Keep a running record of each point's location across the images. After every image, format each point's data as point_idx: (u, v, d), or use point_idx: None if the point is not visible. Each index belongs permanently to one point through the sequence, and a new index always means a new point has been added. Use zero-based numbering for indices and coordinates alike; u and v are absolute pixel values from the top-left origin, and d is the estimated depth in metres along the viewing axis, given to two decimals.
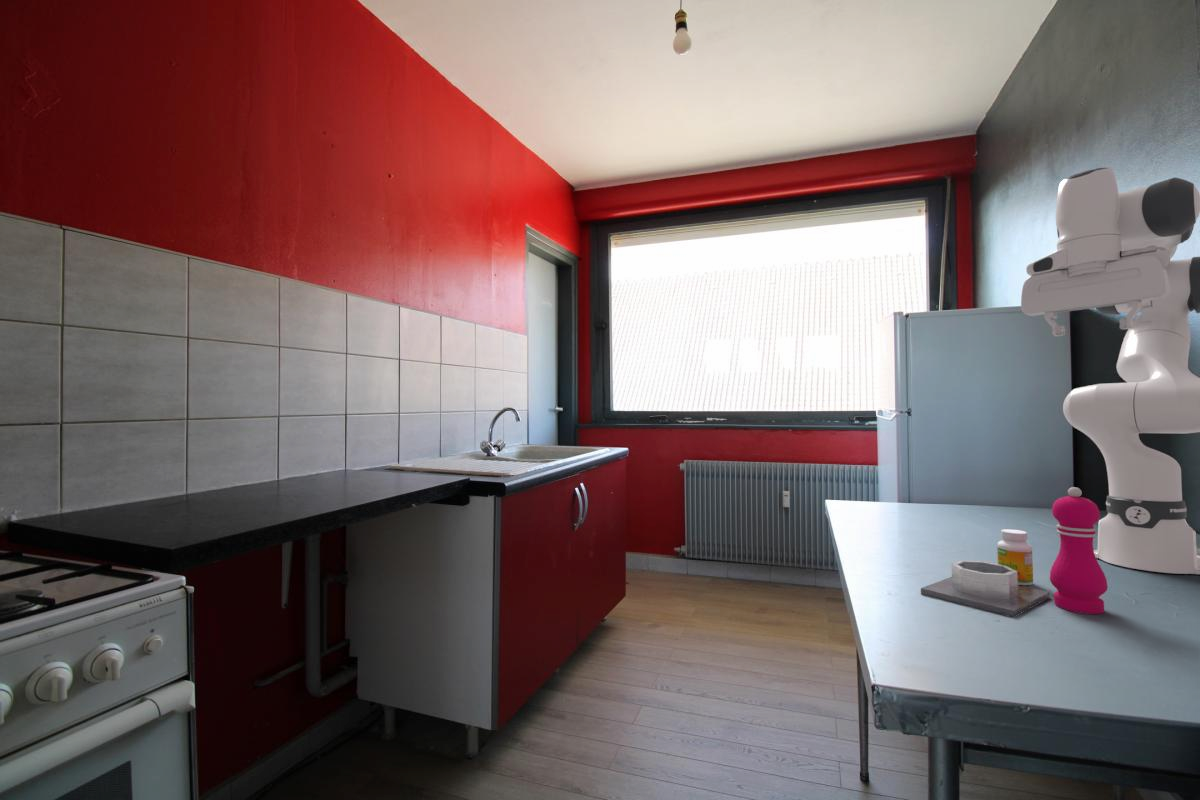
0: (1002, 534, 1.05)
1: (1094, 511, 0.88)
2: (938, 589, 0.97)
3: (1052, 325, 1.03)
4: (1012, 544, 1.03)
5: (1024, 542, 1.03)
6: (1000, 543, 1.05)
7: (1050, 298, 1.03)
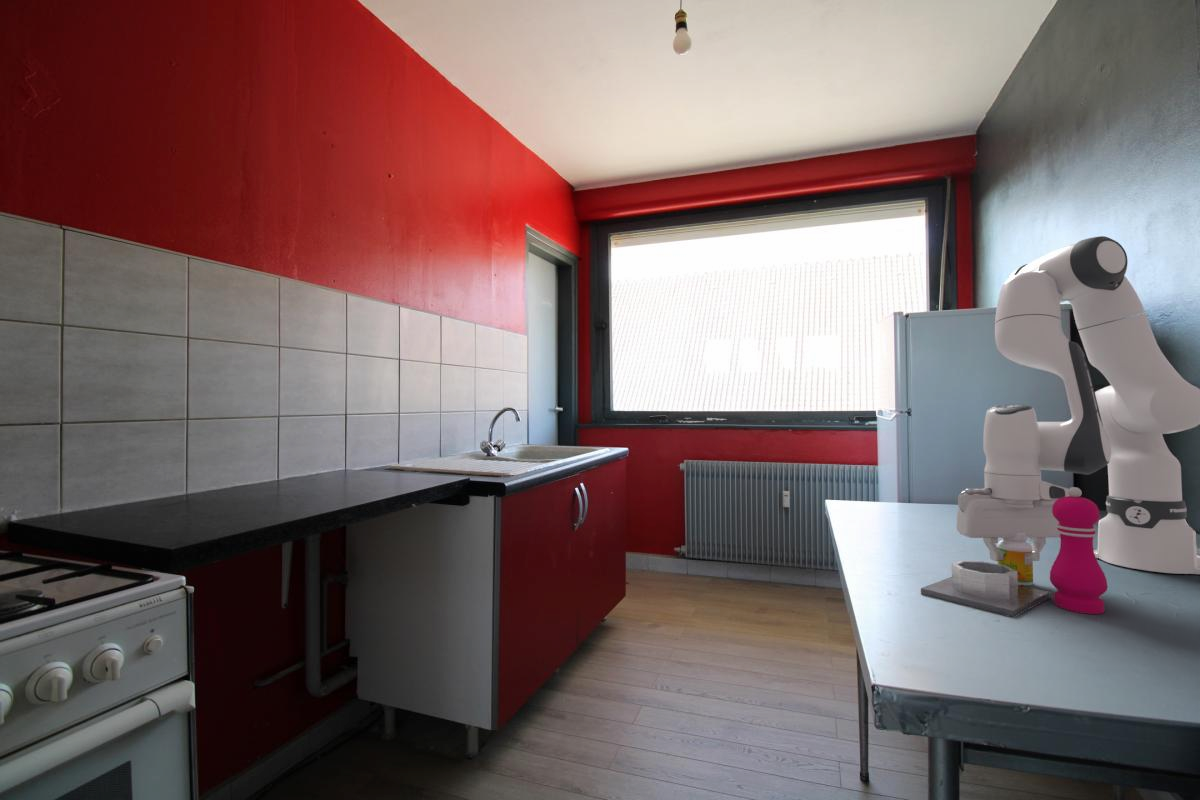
0: None
1: (1094, 511, 0.88)
2: (938, 589, 0.97)
3: None
4: (1012, 544, 1.03)
5: (1024, 542, 1.03)
6: (1000, 543, 1.05)
7: None
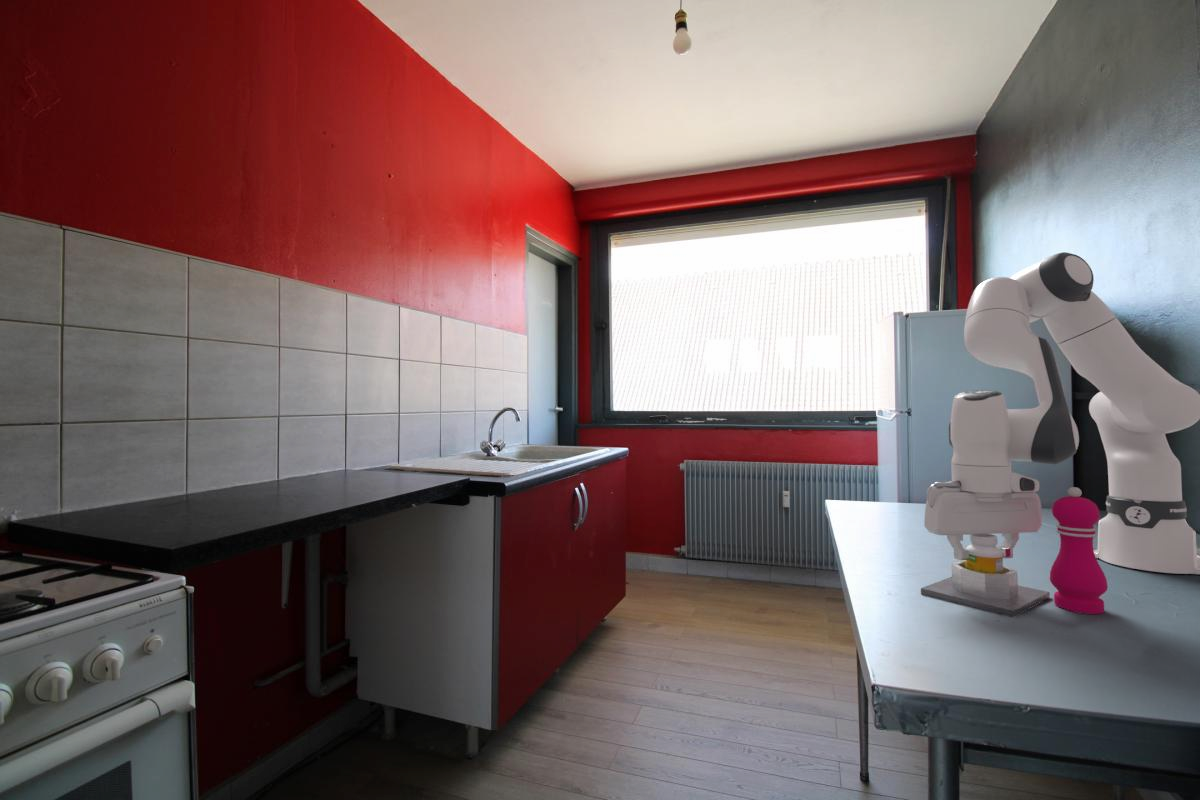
0: (971, 538, 0.97)
1: (1094, 511, 0.88)
2: (938, 589, 0.97)
3: None
4: (983, 549, 0.95)
5: (994, 547, 0.95)
6: (969, 548, 0.97)
7: None
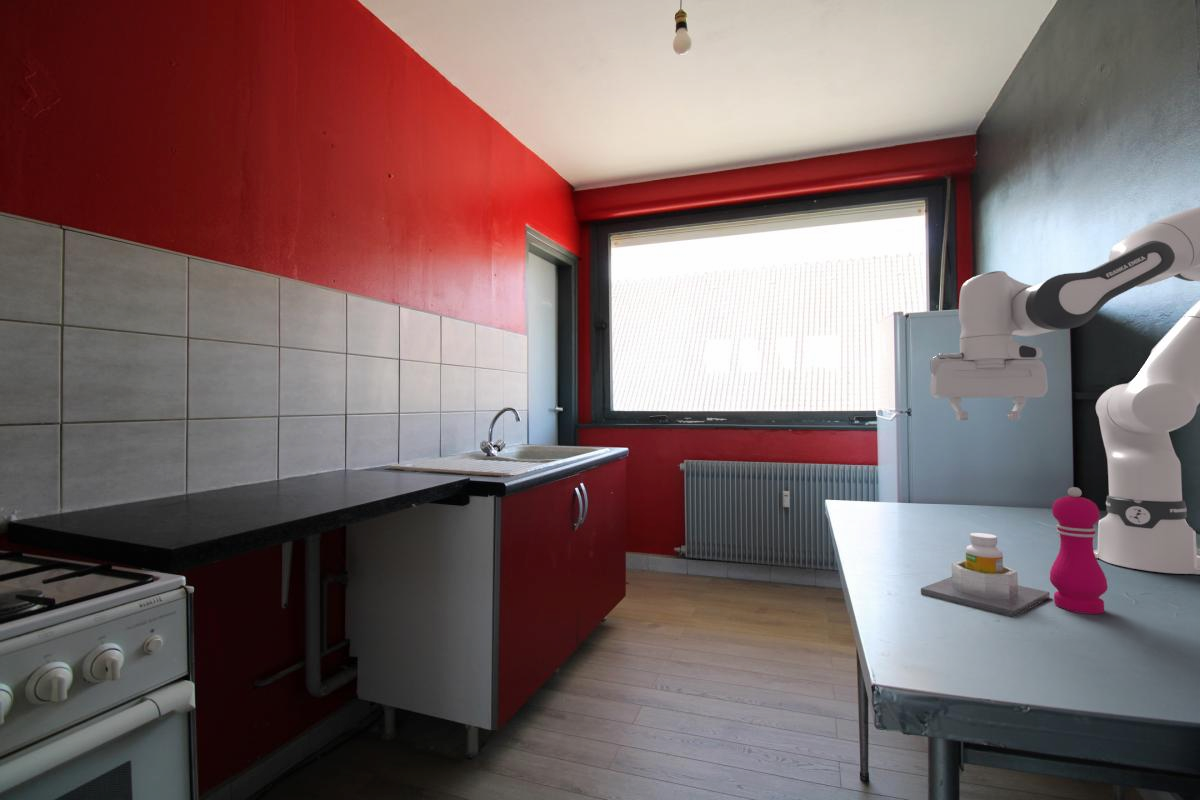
0: (971, 538, 0.97)
1: (1094, 511, 0.88)
2: (938, 589, 0.97)
3: None
4: (983, 549, 0.95)
5: (994, 547, 0.95)
6: (969, 548, 0.97)
7: None
